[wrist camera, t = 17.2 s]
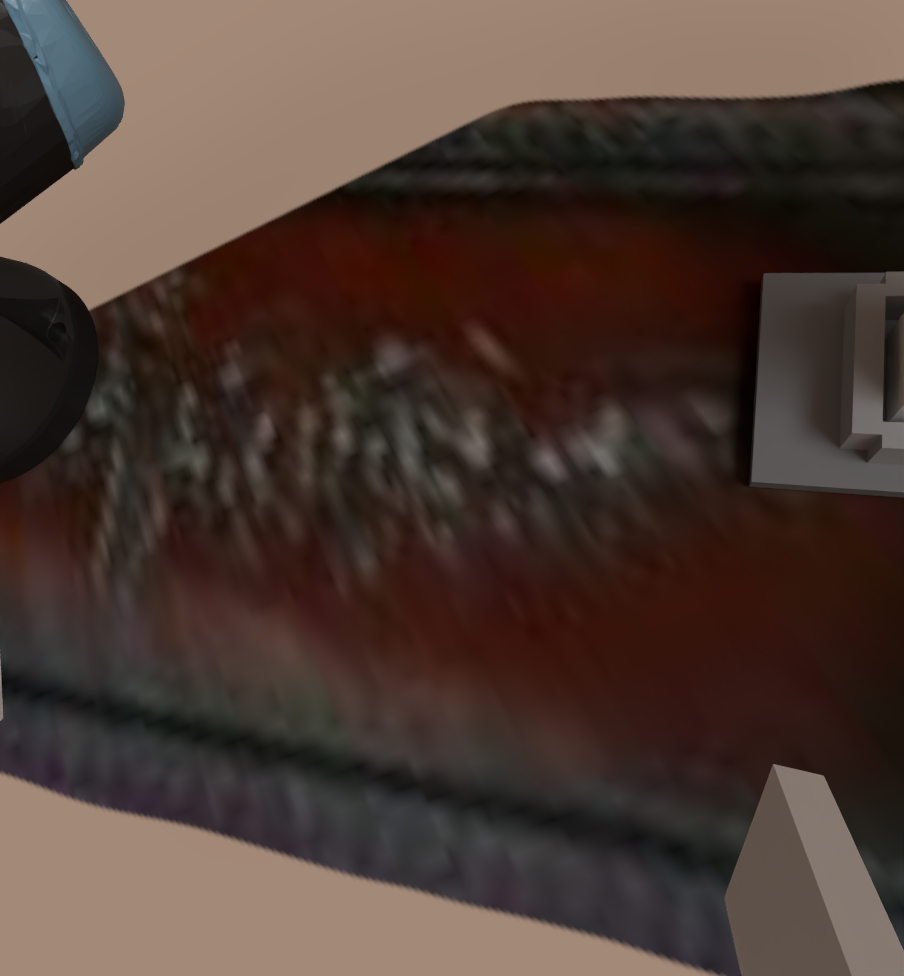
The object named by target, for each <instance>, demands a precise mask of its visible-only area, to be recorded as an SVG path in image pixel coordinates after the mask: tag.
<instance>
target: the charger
mask: <svg viewBox="0 0 904 976" xmlns="http://www.w3.org/2000/svg"><path fill="white" fill-rule="evenodd" d="M886 422H904V313H903V314H902V316H901V317H900V319H899V320H898V322H897V323H896V325H895V326H894V328H893V329H892V331H891V332H890V334H889V335H888V358H887V401H886Z"/></svg>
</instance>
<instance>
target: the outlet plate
mask: <svg viewBox="0 0 904 976" xmlns="http://www.w3.org/2000/svg"><path fill="white" fill-rule="evenodd" d="M903 313H904V272H886V273H764V274H763V278H762V282H761V296H760V313H759V330H758V346H757V363H756V380H755V397H754V413H753V430H752V447H751V463H750V480H749V487H762V488H776V489H790V490H804V491H818V492H832V493H846V494H860V495H874V496H888V497H902V498H904V422H886V401H887V358H888V335H889V334H890V332H891V331H892V329H893V328H894V326H895V325H896V323H897V322H898V320H899V319H900V317H901V316H902V314H903Z"/></svg>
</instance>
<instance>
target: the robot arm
mask: <svg viewBox="0 0 904 976" xmlns="http://www.w3.org/2000/svg"><path fill="white" fill-rule="evenodd" d="M124 105H125V102H124V96H123V92H122V88H121V86H120V84H119V82H118V80H117V79H116V77H115V75H114V74H113V72H112V70H111V68H110V67H109V65H108V64H107V62H106V60H105V59H104V57H103V56H102V54H101V53H100V51H99V49H98V48H97V46H96V45H95V43H94V42H93V40H92V39H91V37H90V36H89V34H88V33H87V31H86V30H85V28H84V27H83V25H82V24H81V22H80V20H79V19H78V18H77V16H76V14H75V13H74V11H73V10H72V9H71V7H70V6H69V4H68V3H67V1H66V0H0V224H1V223H2V222H3V221H5V220H6V219H7V218H9V217H10V216H11V215H12V214H14V213H15V212H17V211H18V210H19V209H21V208H22V207H23V206H25V205H26V204H27V203H28V202H30V201H31V200H32V199H34V198H35V197H36V196H38V195H39V194H40V193H42V192H43V191H44V190H46V189H47V188H48V187H49V186H51V185H52V184H53V183H55V182H56V181H58V180H59V179H60V178H62V177H63V176H64V175H65V174H67V173H68V172H70V171H71V170H72V169H75V170H76V169H77V168H79V167H80V165H82V164H83V158H84V157H85V156H86V155H87V154H88V153H89V152H90V151H92V150H93V149H94V148H95V147H96V146H97V145H98V144H100V143H101V142H102V141H103V140H104V139H105V138H106V137H108V136H109V135H110V134H111V133H112V132H113V131H114V130H115V129H116V128H117V127H118V125H119V123H120V122H121V120H122V117H123V112H124ZM97 358H98V345H97V336H96V330H95V326H94V323H93V320H92V317H91V315H90V313H89V311H88V309H87V307H86V305H85V304H84V302H83V301H82V300H81V298H80V297H79V296H78V295H77V294H76V293H75V292H74V291H73V290H72V289H70V288H69V287H68V286H66V285H65V284H63V283H62V282H60V281H58V280H57V279H55V278H54V277H52V276H51V275H49V274H48V273H46V272H45V271H43V270H41V269H39V268H37V267H34V266H32V265H29V264H27V263H23V262H20V261H16V260H11V259H7V258H3V257H0V482H2V481H5V480H9V479H11V478H14V477H16V476H18V475H21V474H23V473H25V472H26V471H28V470H30V469H31V468H33V467H34V466H36V465H37V464H39V463H40V462H41V461H43V460H44V459H45V458H46V457H48V456H49V455H50V454H51V453H52V452H53V451H54V450H55V449H56V448H57V447H58V446H59V445H60V444H61V443H62V442H63V440H64V439H65V438H66V437H67V435H68V434H69V433H70V431H71V430H72V429H73V427H74V426H75V424H76V422H77V421H78V419H79V417H80V415H81V414H82V412H83V410H84V408H85V405H86V403H87V401H88V398H89V396H90V393H91V390H92V387H93V383H94V379H95V374H96V368H97ZM2 719H3V705H2V682H1V660H0V721H1V720H2ZM724 899H725V904H726V908H727V913H728V917H729V922H730V926H731V931H732V935H733V940H734V944H735V949H736V953H737V958H738V962H739V967H740V972H741V976H904V951H903V948H902V946H901V944H900V942H899V940H898V937H897V935H896V933H895V931H894V929H893V926H892V924H891V922H890V920H889V918H888V916H887V913H886V911H885V909H884V907H883V905H882V902H881V900H880V898H879V896H878V894H877V891H876V889H875V887H874V885H873V883H872V881H871V878H870V876H869V874H868V872H867V870H866V867H865V865H864V863H863V861H862V859H861V856H860V854H859V852H858V850H857V848H856V845H855V843H854V841H853V839H852V837H851V835H850V832H849V830H848V828H847V826H846V824H845V821H844V819H843V817H842V815H841V813H840V810H839V808H838V806H837V804H836V802H835V800H834V797H833V795H832V793H831V791H830V789H829V786H828V784H827V782H826V780H825V778H824V776H822V775H818V774H814V773H809V772H805V771H801V770H796V769H792V768H788V767H783V766H779V765H775V764H773V766H772V769H771V772H770V774H769V777H768V780H767V782H766V785H765V788H764V791H763V793H762V796H761V799H760V802H759V804H758V807H757V810H756V812H755V815H754V818H753V821H752V823H751V826H750V829H749V832H748V834H747V837H746V840H745V843H744V845H743V848H742V851H741V853H740V856H739V859H738V862H737V864H736V867H735V870H734V873H733V875H732V878H731V881H730V883H729V886H728V889H727V892H726V894H725V897H724Z"/></svg>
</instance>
